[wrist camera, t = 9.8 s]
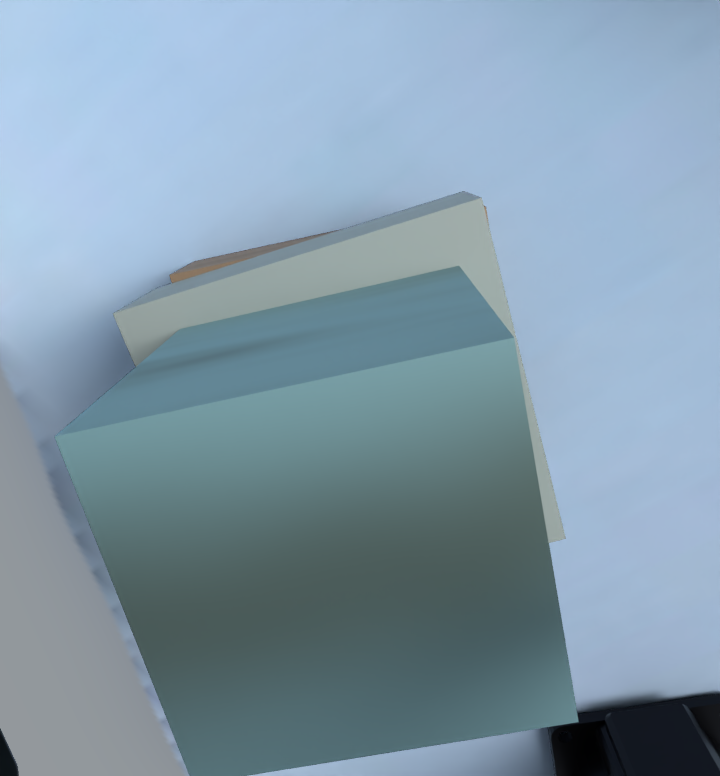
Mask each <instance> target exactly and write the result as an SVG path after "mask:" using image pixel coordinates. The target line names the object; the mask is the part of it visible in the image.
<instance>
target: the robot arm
mask: <svg viewBox="0 0 720 776" xmlns="http://www.w3.org/2000/svg"><path fill="white" fill-rule="evenodd" d="M578 721H579V722H576V723H570V724H564V725H558V726H551V727H548V732H549V739H550V745H551V752H552V758H553V765H554V771H555V776H720V694H716V695H709V696H703V697H696V698H689V699H682V700H675V701H668V702H661V703H654V704H647V705H640V706H634V707H627V708H620V709H613V710H606V711H599V712H592V713H585V714H578ZM564 731H567V733H564V734H560V733H561V732H564ZM0 776H19V774H18V766H17V763H16V761H15V759H14V757H13V755H12V753H11V750H10V748H9V746H8V744H7V742H6V740H5V737H4V735H3V733H2V731H1V729H0Z"/></svg>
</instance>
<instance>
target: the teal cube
mask: <svg viewBox="0 0 720 776" xmlns="http://www.w3.org/2000/svg"><path fill="white" fill-rule="evenodd" d="M55 440H56V442H57V445H58V447H59V450H60V452H61V455H62V457H63V460H64V462H65V465H66V467H67V470H68V472H69V475H70V477H71V480H72V482H73V485H74V487H75V490H76V492H77V495H78V497H79V500H80V502H81V505H82V507H83V510H84V512H85V515H86V517H87V520H88V522H89V525H90V527H91V530H92V532H93V535H94V537H95V540H96V542H97V545H98V547H99V550H100V552H101V555H102V557H103V560H104V562H105V565H106V567H107V570H108V572H109V575H110V577H111V580H112V582H113V585H114V587H115V590H116V592H117V595H118V597H119V600H120V602H121V605H122V607H123V610H124V612H125V615H126V617H127V620H128V622H129V625H130V627H131V630H132V632H133V635H134V637H135V640H136V642H137V645H138V648H139V650H140V653H141V655H142V658H143V660H144V663H145V665H146V668H147V670H148V673H149V675H150V678H151V680H152V683H153V685H154V688H155V690H156V693H157V695H158V698H159V700H160V703H161V705H162V708H163V710H164V713H165V715H166V718H167V720H168V723H169V725H170V728H171V730H172V733H173V735H174V738H175V740H176V743H177V745H178V748H179V750H180V753H181V755H182V758H183V760H184V763H185V765H186V768H187V770H188V773H189V775H190V776H247V775H253V774H260V773H266V772H272V771H278V770H284V769H291V768H297V767H303V766H309V765H316V764H322V763H328V762H334V761H340V760H347V759H353V758H359V757H365V756H371V755H378V754H384V753H390V752H396V751H402V750H409V749H415V748H421V747H427V746H433V745H440V744H446V743H452V742H458V741H465V740H471V739H477V738H483V737H489V736H496V735H502V734H508V733H514V732H520V731H527V730H533V729H539V728H545V727H551V726H558V725H564V724H570V723H576V722H579V721H578V715H577V709H576V703H575V697H574V691H573V685H572V679H571V673H570V667H569V661H568V655H567V649H566V643H565V638H564V632H563V626H562V620H561V614H560V608H559V602H558V596H557V590H556V584H555V578H554V572H553V566H552V560H551V554H550V548H549V542H548V536H547V530H546V524H545V518H544V512H543V506H542V500H541V494H540V488H539V482H538V476H537V470H536V464H535V458H534V452H533V446H532V440H531V435H530V429H529V423H528V417H527V411H526V405H525V399H524V393H523V387H522V381H521V375H520V369H519V363H518V357H517V351H516V345H515V339H514V337H513V335H512V334H511V333H510V331H509V330H508V329H507V327H506V326H505V325H504V324H503V322H502V321H501V320H500V318H499V317H498V316H497V314H496V313H495V312H494V310H493V309H492V308H491V307H490V305H489V304H488V303H487V301H486V300H485V299H484V297H483V296H482V295H481V294H480V292H479V291H478V290H477V288H476V287H475V286H474V284H473V283H472V282H471V280H470V279H469V278H468V277H467V275H466V274H465V273H464V271H463V270H462V269H461V267H460V266H455V267H450V268H446V269H442V270H437V271H433V272H428V273H424V274H420V275H415V276H411V277H406V278H402V279H398V280H393V281H389V282H384V283H380V284H376V285H371V286H367V287H362V288H358V289H354V290H349V291H345V292H340V293H336V294H332V295H327V296H323V297H318V298H314V299H310V300H305V301H301V302H296V303H292V304H288V305H283V306H279V307H274V308H270V309H266V310H261V311H257V312H252V313H248V314H244V315H239V316H235V317H230V318H226V319H222V320H217V321H213V322H208V323H204V324H200V325H195V326H191V327H186V328H182V329H180V330H178V331H177V332H176V333H175V334H174V335H173V336H171V337H170V338H169V339H168V340H167V341H166V342H164V343H163V344H162V345H161V346H160V347H159V348H157V349H156V350H155V351H154V352H153V353H152V354H150V355H149V356H148V357H147V358H146V359H145V360H143V361H142V362H141V363H140V364H139V365H138V366H136V367H135V368H134V369H133V370H132V371H131V372H129V373H128V374H127V375H126V376H125V377H124V378H122V379H121V380H120V381H119V382H118V383H116V384H115V385H114V386H113V387H112V388H111V389H109V390H108V391H107V392H106V393H105V394H104V395H102V396H101V397H100V398H99V399H98V400H97V401H95V402H94V403H93V404H92V405H91V406H90V407H88V408H87V409H86V410H85V411H84V412H83V413H81V414H80V415H79V416H78V417H77V418H76V419H74V420H73V421H72V422H71V423H70V424H69V425H67V426H66V427H65V428H64V429H63V430H62V431H60V432H59V433H58V434H57V435H56V436H55Z"/></svg>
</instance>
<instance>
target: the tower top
mask: <svg viewBox="0 0 720 776" xmlns="http://www.w3.org/2000/svg"><path fill="white" fill-rule="evenodd" d="M455 266H460V267H461V269H462V270H463V271H464V273H465V274H466V275H467V277H468V278H469V279H470V280H471V282H472V283H473V284H474V286H475V287H476V288H477V290H478V291H479V292H480V294H481V295H482V296H483V297H484V299H485V300H486V301H487V303H488V304H489V305H490V307H491V308H492V309H493V310H494V312H495V313H496V314H497V316H498V317H499V318H500V320H501V321H502V322H503V324H504V325H505V326H506V327H507V329H508V330H509V331H510V333H511V334H512V335H513V337H514V339H515V345H516V351H517V357H518V363H519V369H520V375H521V381H522V387H523V393H524V399H525V405H526V411H527V417H528V423H529V429H530V435H531V440H532V446H533V452H534V458H535V464H536V470H537V476H538V482H539V488H540V494H541V500H542V506H543V512H544V518H545V524H546V530H547V536H548V542H549V543H550V542H554V541H558V540H562V539H566V538H565V534H564V530H563V526H562V522H561V518H560V514H559V510H558V506H557V502H556V498H555V493H554V489H553V485H552V481H551V477H550V473H549V469H548V465H547V461H546V457H545V453H544V449H543V445H542V441H541V437H540V433H539V429H538V424H537V420H536V416H535V412H534V408H533V404H532V400H531V396H530V392H529V388H528V384H527V380H526V376H525V372H524V368H523V364H522V360H521V355H520V351H519V347H518V343H517V339H516V335H515V331H514V327H513V323H512V319H511V315H510V311H509V307H508V303H507V299H506V295H505V291H504V286H503V282H502V278H501V274H500V270H499V266H498V262H497V258H496V254H495V250H494V246H493V242H492V238H491V234H490V230H489V226H488V222H487V217H486V213H485V209H484V205H483V201H482V198H481V197H478V196H475V195H473V194H470V193H467V192H465V191H462V192H459V193H456V194H453V195H450V196H447V197H443V198H440V199H437V200H434V201H431V202H428V203H424V204H421V205H418V206H415V207H412V208H409V209H405V210H402V211H399V212H396V213H393V214H390V215H386V216H383V217H380V218H377V219H374V220H371V221H367V222H364V223H361V224H358V225H355V226H352V227H348V228H345V229H342V230H339V231H336V232H333V233H329V234H326V235H323V236H320V237H317V238H314V239H310V240H307V241H304V242H301V243H298V244H295V245H291V246H288V247H285V248H282V249H279V250H276V251H272V252H269V253H266V254H263V255H260V256H257V257H253V258H250V259H247V260H244V261H241V262H238V263H234V264H231V265H228V266H225V267H222V268H219V269H215V270H212V271H209V272H206V273H203V274H200V275H196V276H193V277H190V278H187V279H184V280H181V281H177V282H174V283H171V284H168V285H165V286H162V287H158V288H156V289H154V290H152V291H150V292H149V293H147V294H145V295H144V296H142V297H140V298H138V299H137V300H135V301H133V302H132V303H130V304H128V305H126V306H125V307H123V308H121V309H120V310H118V311H116V312H114V313H113V315H114V318H115V320H116V322H117V325H118V327H119V330H120V332H121V334H122V337H123V339H124V341H125V344H126V346H127V348H128V351H129V353H130V355H131V358H132V360H133V362H134V365H135V367H136V366H138V365H139V364H140V363H141V362H142V361H143V360H145V359H146V358H147V357H148V356H149V355H150V354H152V353H153V352H154V351H155V350H156V349H157V348H159V347H160V346H161V345H162V344H163V343H164V342H166V341H167V340H168V339H169V338H170V337H171V336H173V335H174V334H175V333H176V332H177V331H178V330H180V329H182V328H186V327H191V326H195V325H200V324H204V323H208V322H213V321H217V320H222V319H226V318H230V317H235V316H239V315H244V314H248V313H252V312H257V311H261V310H266V309H270V308H274V307H279V306H283V305H288V304H292V303H296V302H301V301H305V300H310V299H314V298H318V297H323V296H327V295H332V294H336V293H340V292H345V291H349V290H354V289H358V288H362V287H367V286H371V285H376V284H380V283H384V282H389V281H393V280H398V279H402V278H406V277H411V276H415V275H420V274H424V273H428V272H433V271H437V270H442V269H446V268H450V267H455Z"/></svg>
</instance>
